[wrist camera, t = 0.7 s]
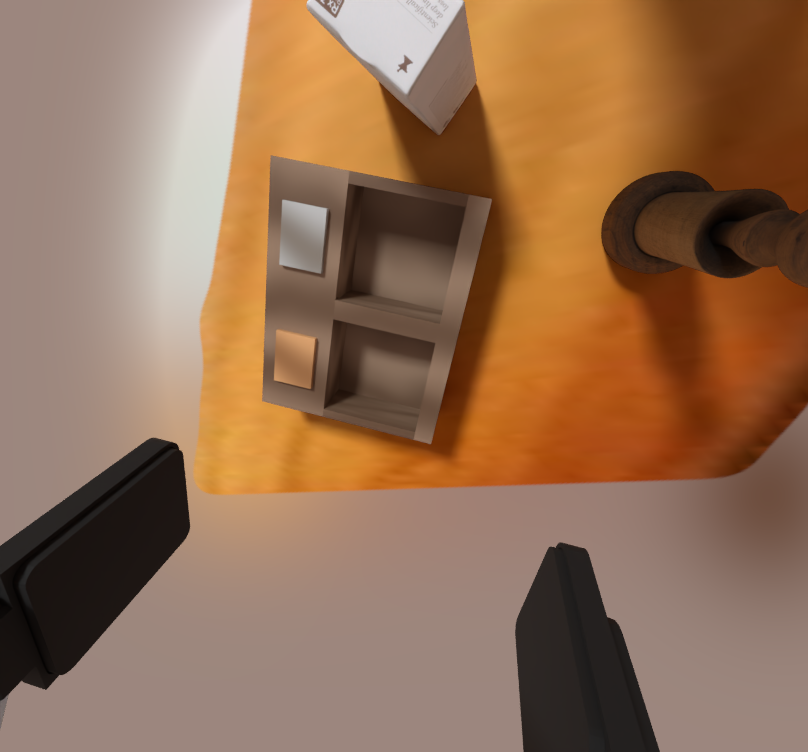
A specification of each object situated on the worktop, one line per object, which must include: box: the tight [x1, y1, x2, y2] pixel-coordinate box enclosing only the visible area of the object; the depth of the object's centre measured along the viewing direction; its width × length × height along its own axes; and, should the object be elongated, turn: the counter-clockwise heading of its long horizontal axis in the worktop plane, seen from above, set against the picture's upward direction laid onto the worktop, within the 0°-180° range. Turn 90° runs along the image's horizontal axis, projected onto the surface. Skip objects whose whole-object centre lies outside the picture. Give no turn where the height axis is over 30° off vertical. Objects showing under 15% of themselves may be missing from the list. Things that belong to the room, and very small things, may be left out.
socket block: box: [262, 156, 492, 444], centre depth 32 cm, size 19×15×5 cm
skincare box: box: [307, 0, 476, 135], centre depth 22 cm, size 6×4×12 cm
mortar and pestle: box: [601, 171, 808, 287], centre depth 21 cm, size 7×6×18 cm
